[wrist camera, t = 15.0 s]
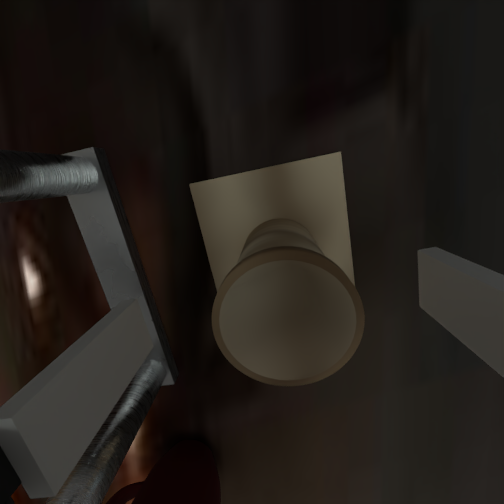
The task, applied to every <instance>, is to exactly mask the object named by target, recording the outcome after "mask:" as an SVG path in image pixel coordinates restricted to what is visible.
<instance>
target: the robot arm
mask: <svg viewBox="0 0 504 504" xmlns="http://www.w3.org/2000/svg"><path fill="white" fill-rule="evenodd" d="M418 277H419V304H420V307H421V308H422V309H423V310H425V311H426V312H427V313H428V314H429V315H430V316H432V317H433V318H434V319H435V320H436V321H438V322H439V323H440V324H441V325H442V326H443V327H445V328H446V329H447V330H448V331H449V332H450V333H452V334H453V335H454V336H455V337H456V338H458V339H459V340H460V341H461V342H462V343H463V344H465V345H466V346H467V347H468V348H469V349H471V350H472V351H473V352H474V353H475V354H476V355H478V356H479V357H480V358H481V359H482V360H483V361H485V362H486V363H487V364H488V365H489V366H491V367H492V368H493V369H494V370H495V371H496V372H498V373H499V374H500V375H501V376H502V377H503V378H504V275H502V274H499V273H497V272H494V271H492V270H490V269H487V268H485V267H483V266H480V265H478V264H475V263H473V262H471V261H468V260H466V259H463V258H461V257H459V256H456V255H454V254H452V253H449V252H447V251H444V250H442V249H440V248H437V247H433V248H427V249H421V250H418ZM153 347H154V346H153V343H152V340H151V337H150V334H149V331H148V329H147V326H146V323H145V320H144V317H143V314H142V311H141V309H140V306H139V303H138V300H137V298H135V299H129V300H124V301H121V302H120V303H119V304H118V305H117V306H116V307H115V308H113V309H112V310H111V311H110V312H109V313H108V314H107V315H105V316H104V317H103V318H102V319H101V320H100V321H99V322H97V323H96V324H95V325H94V326H93V327H92V328H91V329H89V330H88V331H87V332H86V333H85V334H84V335H83V336H81V337H80V338H79V339H78V340H77V341H76V342H75V343H73V344H72V345H71V346H70V347H69V348H68V349H67V350H65V351H64V352H63V353H62V354H61V355H60V356H59V357H57V358H56V359H55V360H54V361H53V362H52V363H51V364H49V365H48V366H47V367H46V368H45V369H44V370H43V371H41V372H40V373H39V374H38V375H37V376H36V377H35V378H33V379H32V380H31V381H30V382H29V383H28V384H27V385H25V386H24V387H23V388H22V389H21V390H20V391H18V392H17V393H16V394H15V395H14V396H13V397H12V398H10V399H9V400H8V401H7V402H6V403H5V404H4V405H2V406H1V407H0V504H14V501H13V499H12V498H11V495H12V494H13V493H14V491H15V490H16V489H17V488H18V486H19V485H20V484H22V486H23V487H24V489H25V491H26V492H27V494H28V496H29V497H30V499H33V498H44V497H55V496H56V495H57V493H58V492H59V490H60V489H61V487H62V486H63V484H64V483H65V481H66V479H67V478H68V476H69V475H70V473H71V472H72V470H73V469H74V467H75V466H76V464H77V463H78V461H79V460H80V458H81V457H82V455H83V453H84V452H85V450H86V449H87V447H88V446H89V444H90V443H91V441H92V440H93V438H94V437H95V435H96V434H97V432H98V431H99V429H100V428H101V426H102V424H103V423H104V421H105V420H106V418H107V417H108V415H109V414H110V412H111V411H112V409H113V408H114V406H115V405H116V403H117V402H118V400H119V399H120V397H121V395H122V394H123V392H124V391H125V389H126V388H127V386H128V385H129V383H130V382H131V380H132V379H133V377H134V376H135V374H136V373H137V371H138V370H139V368H140V366H141V365H142V363H143V362H144V360H145V359H146V357H147V356H148V354H149V353H150V351H151V350H152V348H153Z"/></svg>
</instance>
